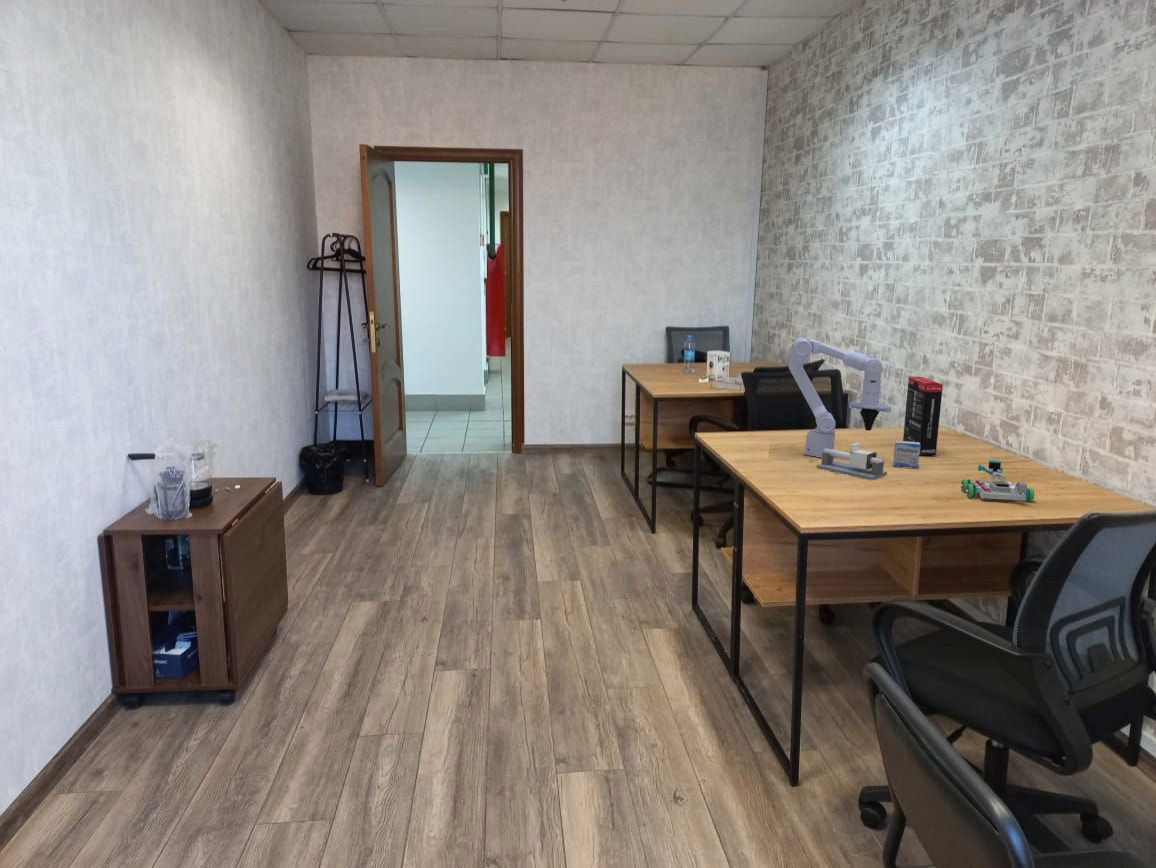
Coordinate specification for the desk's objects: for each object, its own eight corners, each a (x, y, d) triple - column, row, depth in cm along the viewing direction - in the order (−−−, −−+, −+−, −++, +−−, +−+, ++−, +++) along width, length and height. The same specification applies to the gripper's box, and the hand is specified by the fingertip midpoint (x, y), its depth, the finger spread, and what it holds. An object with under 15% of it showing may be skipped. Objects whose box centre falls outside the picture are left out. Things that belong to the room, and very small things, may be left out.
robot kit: (1011, 484, 255) (1015, 455, 253) (1038, 506, 231) (1042, 476, 229) (949, 480, 259) (952, 452, 257) (969, 502, 235) (973, 471, 233)
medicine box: (893, 467, 273) (896, 442, 272) (892, 464, 278) (895, 439, 276) (918, 469, 271) (920, 444, 269) (916, 465, 275) (919, 441, 274)
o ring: (865, 469, 260) (866, 454, 259) (872, 466, 264) (874, 451, 262) (868, 470, 259) (869, 454, 258) (875, 467, 263) (877, 452, 262)
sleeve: (848, 465, 264) (850, 444, 263) (855, 462, 268) (857, 442, 266) (865, 468, 260) (867, 447, 259) (872, 466, 263) (874, 445, 262)
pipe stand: (816, 468, 270) (818, 450, 269) (831, 463, 277) (833, 445, 276) (872, 480, 256) (874, 461, 255) (886, 474, 263) (888, 456, 262)
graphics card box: (937, 457, 288) (945, 383, 283) (917, 456, 289) (925, 382, 283) (918, 446, 305) (925, 376, 299) (900, 446, 305) (907, 376, 300)
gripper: (846, 391, 282) (844, 429, 285) (886, 395, 272) (883, 434, 275) (855, 389, 287) (852, 426, 290) (895, 393, 277) (892, 431, 280)
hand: (868, 430), depth 283 cm, fingers closed
